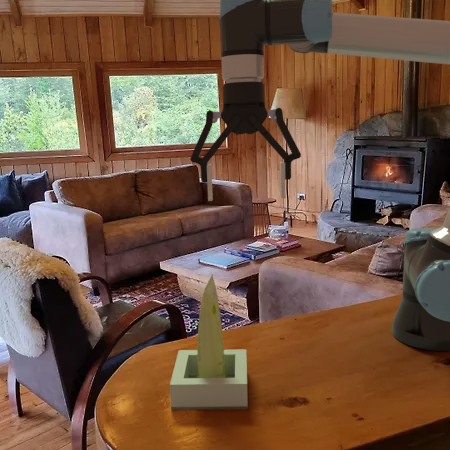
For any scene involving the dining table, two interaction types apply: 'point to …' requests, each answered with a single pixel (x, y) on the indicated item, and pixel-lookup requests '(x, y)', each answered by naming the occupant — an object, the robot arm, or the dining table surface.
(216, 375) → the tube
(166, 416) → the dining table surface
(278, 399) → the dining table surface
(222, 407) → the socket block
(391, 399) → the dining table surface
